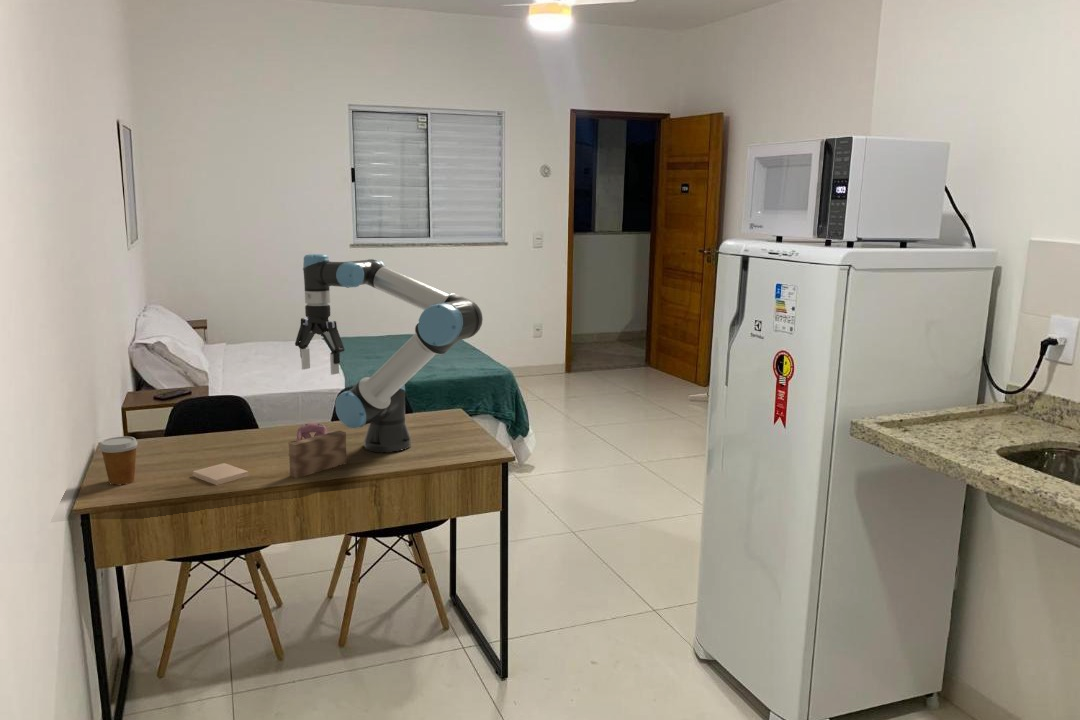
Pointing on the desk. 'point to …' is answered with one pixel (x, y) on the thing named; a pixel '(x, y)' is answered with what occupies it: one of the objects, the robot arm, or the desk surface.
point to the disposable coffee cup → (119, 459)
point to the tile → (220, 473)
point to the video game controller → (310, 430)
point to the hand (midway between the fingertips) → (320, 371)
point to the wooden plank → (317, 453)
